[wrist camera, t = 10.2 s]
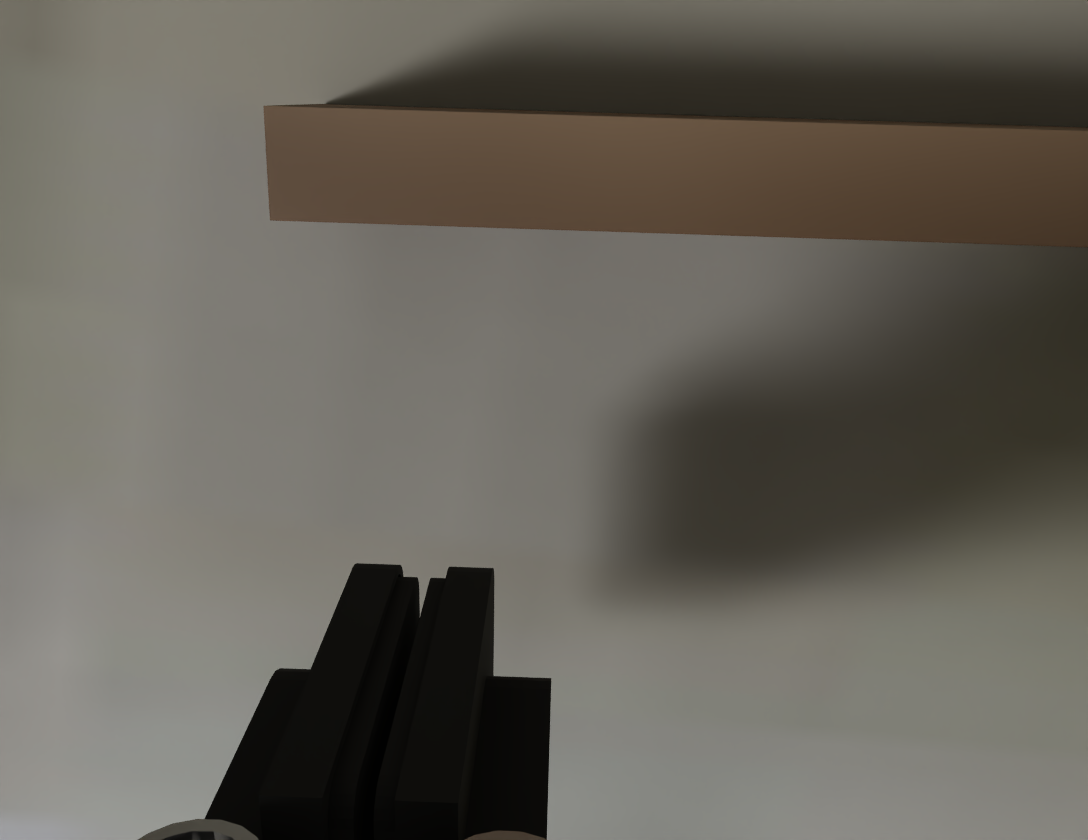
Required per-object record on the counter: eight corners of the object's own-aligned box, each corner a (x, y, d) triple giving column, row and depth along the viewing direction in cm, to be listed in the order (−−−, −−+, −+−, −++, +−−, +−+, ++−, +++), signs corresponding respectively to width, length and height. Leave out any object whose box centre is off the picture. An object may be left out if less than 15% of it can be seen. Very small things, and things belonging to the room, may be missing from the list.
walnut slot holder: (322, 103, 13) (263, 106, 11) (1257, 132, 13) (1413, 141, 10) (357, 1008, 18) (323, 1150, 15) (1035, 1042, 17) (1107, 1191, 15)
